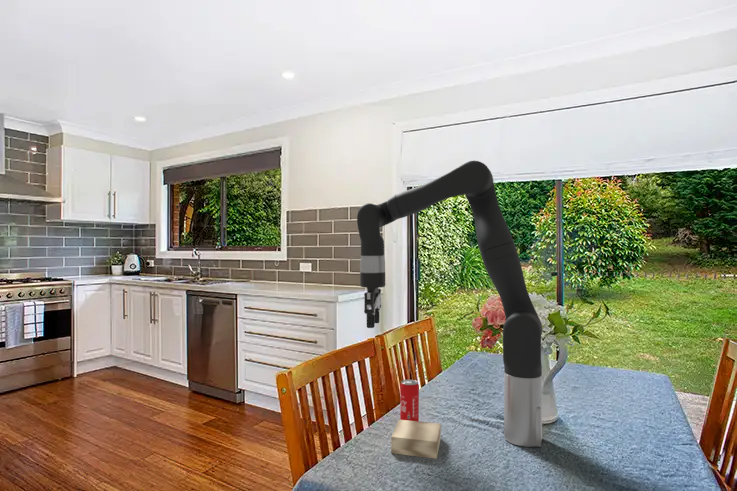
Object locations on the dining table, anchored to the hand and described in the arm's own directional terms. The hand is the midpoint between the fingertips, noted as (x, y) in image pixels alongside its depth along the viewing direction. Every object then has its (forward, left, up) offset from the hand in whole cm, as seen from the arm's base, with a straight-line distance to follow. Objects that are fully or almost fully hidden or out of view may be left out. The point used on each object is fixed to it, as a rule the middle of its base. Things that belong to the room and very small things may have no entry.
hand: (373, 325), depth 131 cm
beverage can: (-12, +2, -27) cm, 30 cm away
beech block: (-18, +14, -27) cm, 35 cm away
